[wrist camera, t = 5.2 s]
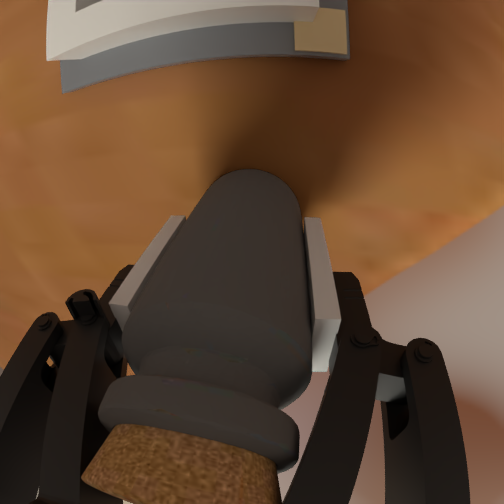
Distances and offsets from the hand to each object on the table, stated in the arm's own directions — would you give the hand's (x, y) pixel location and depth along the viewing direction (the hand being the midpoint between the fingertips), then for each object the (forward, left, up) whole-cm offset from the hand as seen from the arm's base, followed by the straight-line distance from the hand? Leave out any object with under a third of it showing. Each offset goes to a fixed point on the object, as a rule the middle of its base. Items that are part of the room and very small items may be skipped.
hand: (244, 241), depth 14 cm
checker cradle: (-3, +17, -3) cm, 17 cm away
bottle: (0, 0, -3) cm, 3 cm away
